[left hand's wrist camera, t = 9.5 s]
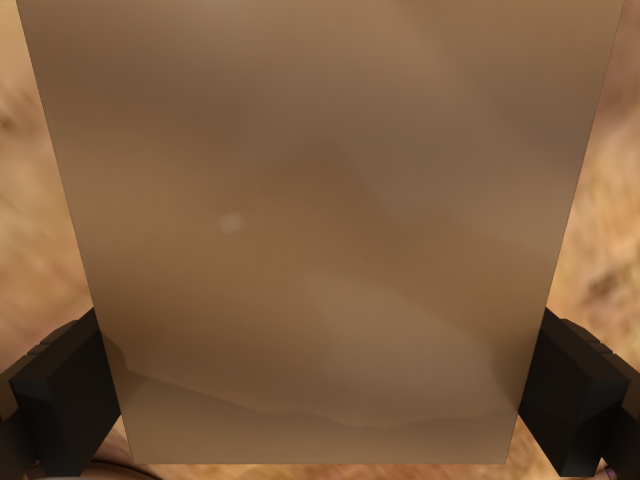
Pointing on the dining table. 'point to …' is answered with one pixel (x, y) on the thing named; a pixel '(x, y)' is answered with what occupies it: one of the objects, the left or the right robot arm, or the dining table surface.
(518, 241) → the brown rectangular block
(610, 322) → the dining table surface
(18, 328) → the dining table surface
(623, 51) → the dining table surface
